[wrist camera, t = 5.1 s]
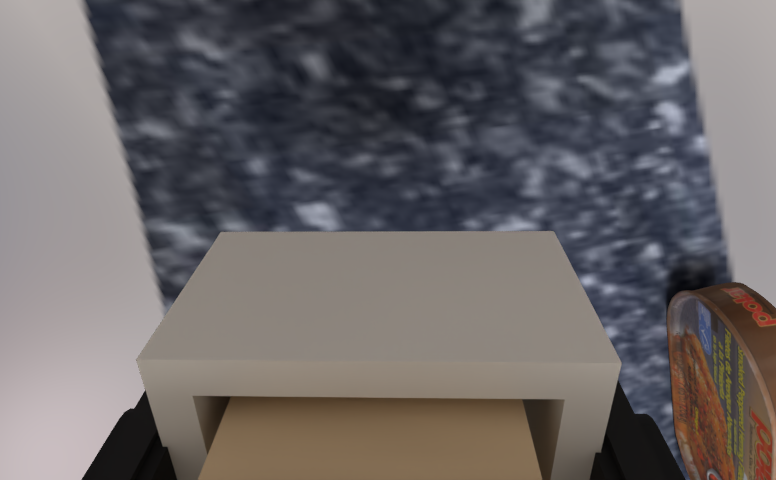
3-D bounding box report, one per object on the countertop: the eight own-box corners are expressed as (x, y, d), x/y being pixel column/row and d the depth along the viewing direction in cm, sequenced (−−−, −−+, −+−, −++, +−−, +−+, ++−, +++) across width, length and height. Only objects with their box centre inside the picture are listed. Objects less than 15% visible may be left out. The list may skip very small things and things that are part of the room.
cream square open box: (221, 231, 10) (136, 359, 7) (553, 231, 10) (622, 363, 7) (262, 459, 13) (216, 621, 10) (521, 463, 12) (558, 631, 9)
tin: (661, 260, 27) (760, 375, 19) (729, 245, 26) (856, 357, 19) (675, 466, 33) (753, 613, 26) (729, 458, 33) (825, 604, 25)
